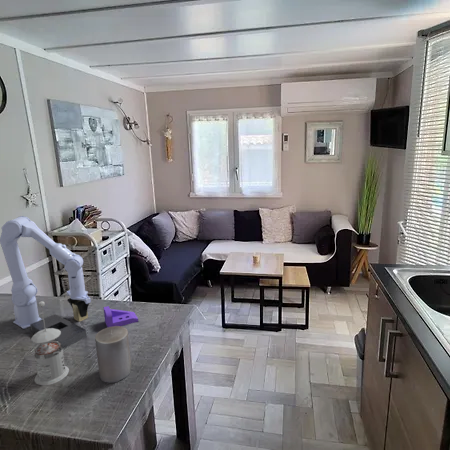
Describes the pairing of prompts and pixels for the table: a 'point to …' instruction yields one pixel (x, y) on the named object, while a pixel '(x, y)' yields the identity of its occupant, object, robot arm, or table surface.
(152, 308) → the table surface
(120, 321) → the bracket
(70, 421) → the table surface
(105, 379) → the pillar candle
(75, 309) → the brass peg
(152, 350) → the table surface
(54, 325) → the dark grey slotted block
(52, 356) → the french press
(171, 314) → the table surface
